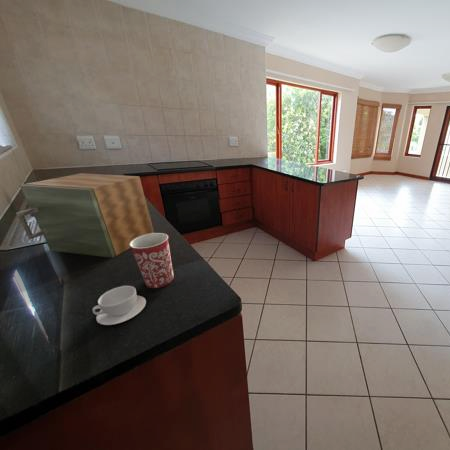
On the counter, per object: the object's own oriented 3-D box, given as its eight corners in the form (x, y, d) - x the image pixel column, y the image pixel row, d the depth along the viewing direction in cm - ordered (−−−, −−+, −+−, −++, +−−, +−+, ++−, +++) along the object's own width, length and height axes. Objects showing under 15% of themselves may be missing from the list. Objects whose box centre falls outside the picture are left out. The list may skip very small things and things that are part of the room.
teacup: (140, 291, 65) (135, 277, 63) (151, 310, 58) (147, 295, 56) (93, 310, 58) (87, 295, 56) (100, 334, 52) (93, 317, 50)
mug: (173, 288, 66) (162, 245, 61) (137, 292, 64) (122, 249, 59) (183, 264, 77) (175, 226, 72) (153, 267, 76) (142, 228, 70)
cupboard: (116, 256, 82) (93, 188, 72) (54, 249, 86) (24, 183, 76) (154, 234, 98) (139, 176, 88) (100, 229, 102) (81, 173, 92)
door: (98, 265, 76) (70, 194, 66) (33, 257, 80) (-2, 189, 70) (115, 256, 81) (92, 188, 72) (53, 248, 85) (24, 184, 76)
